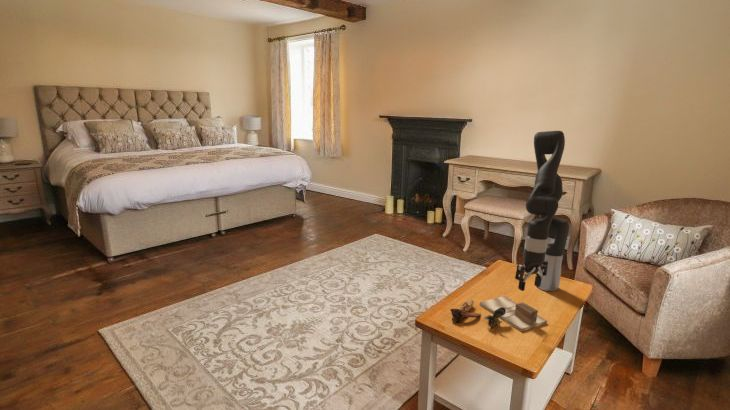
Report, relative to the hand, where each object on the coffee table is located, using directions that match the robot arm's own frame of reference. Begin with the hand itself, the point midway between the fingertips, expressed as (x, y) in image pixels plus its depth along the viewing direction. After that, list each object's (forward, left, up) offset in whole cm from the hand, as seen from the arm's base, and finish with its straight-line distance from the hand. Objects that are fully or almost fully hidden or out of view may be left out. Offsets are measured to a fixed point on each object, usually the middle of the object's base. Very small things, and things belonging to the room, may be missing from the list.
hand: (529, 288), depth 151 cm
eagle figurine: (+12, -4, -15) cm, 19 cm away
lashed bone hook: (+18, -13, -15) cm, 27 cm away
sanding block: (0, 0, -13) cm, 13 cm away
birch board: (0, -6, -14) cm, 16 cm away
